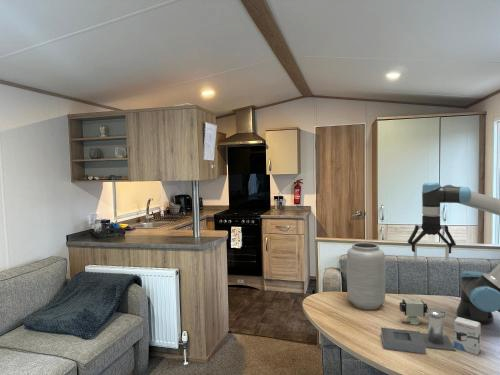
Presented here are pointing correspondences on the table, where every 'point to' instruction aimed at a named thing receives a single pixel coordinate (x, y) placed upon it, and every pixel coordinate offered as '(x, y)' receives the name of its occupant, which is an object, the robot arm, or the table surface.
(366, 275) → the vase
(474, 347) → the ink box
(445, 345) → the mat
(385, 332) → the frame
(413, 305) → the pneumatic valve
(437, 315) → the grey bottle
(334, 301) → the table surface
